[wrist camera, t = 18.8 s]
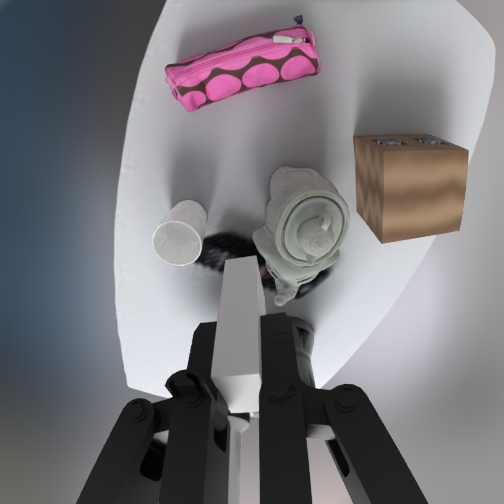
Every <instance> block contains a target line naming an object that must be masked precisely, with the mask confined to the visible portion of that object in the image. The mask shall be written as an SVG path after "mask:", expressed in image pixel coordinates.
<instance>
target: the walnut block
mask: <svg viewBox="0 0 504 504" xmlns="http://www.w3.org/2000/svg"><path fill="white" fill-rule="evenodd" d="M419 137H431V138H436V139H439V138H437V137H434V136H431V135H375V136H356V137H353V140H354V154H355V171H356V199H357V212H358V213H359V215H360V216H361V217H362V219H363V220H364V221H365V222H366V224H367V225H368V226H369V228H370V229H371V230H372V232H373V233H374V234H375V236H376V237H377V238H378V240H379V241H380V242H381V244H383V243H389V242H395V241H401V240H407V239H413V238H419V237H425V236H431V235H437V234H443V233H448V232H454V231H459V230H460V225H461V219H462V213H463V206H464V199H465V191H466V181H467V170H468V152H469V150H467V149H464V148H462V147H460V146H457V145H455V144H452V143H450V142H447V141H445V140H442V139H439V140H440V144H424V143H422V142H419ZM378 138H396V139H400V140H401V145H383V146H382V145H380V144H378Z"/></svg>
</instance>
